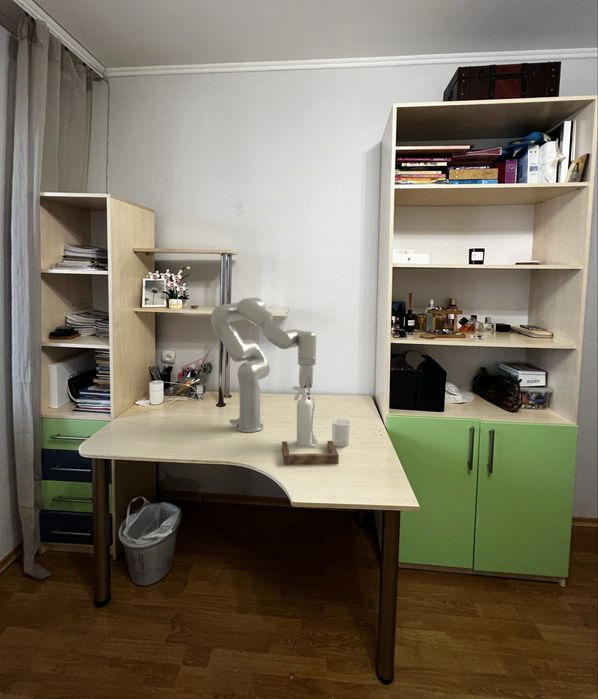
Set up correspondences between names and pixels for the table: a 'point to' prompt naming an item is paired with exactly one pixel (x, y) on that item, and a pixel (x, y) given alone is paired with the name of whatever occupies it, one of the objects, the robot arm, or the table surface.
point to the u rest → (310, 456)
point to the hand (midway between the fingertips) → (305, 402)
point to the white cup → (340, 432)
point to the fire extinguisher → (304, 418)
